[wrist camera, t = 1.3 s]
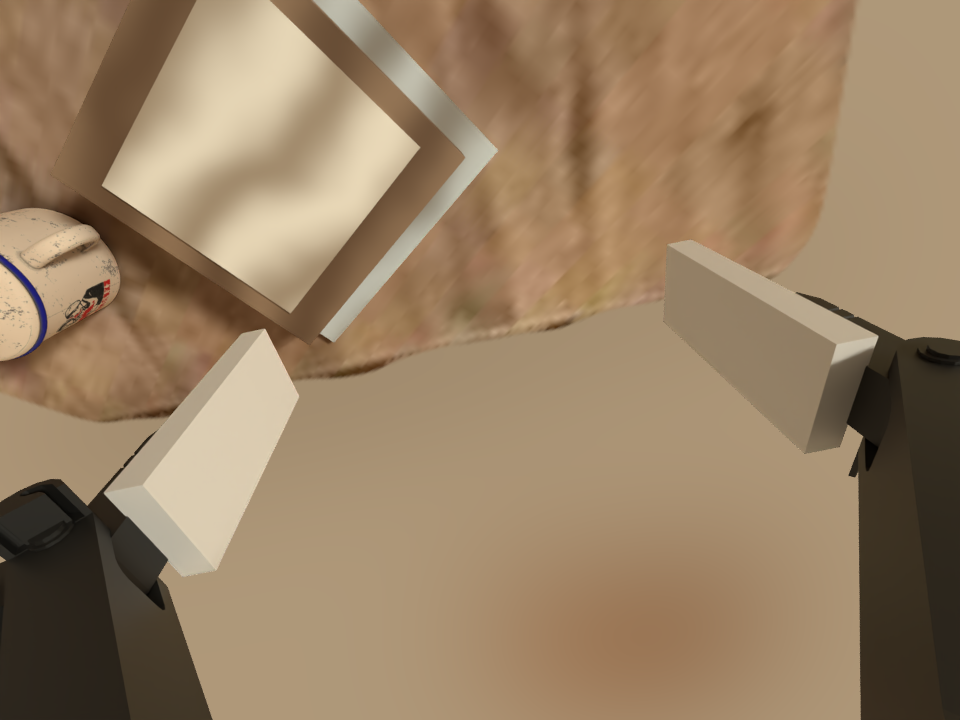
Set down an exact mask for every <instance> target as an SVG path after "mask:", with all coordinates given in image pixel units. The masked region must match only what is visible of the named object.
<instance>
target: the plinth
mask: <svg viewBox="0 0 960 720" xmlns="http://www.w3.org/2000/svg"><path fill="white" fill-rule="evenodd" d="M497 151H498V150H497V149H496V148H495V146H494V145H493V144H492V143H491V142H490V141H489V140H488V139H487V138H486V137H485V136H484V135H483V134H482V133H481V131H480V130H479V129H478V128H477V127H476V126H475V125H474V124H473V123H472V122H471V121H470V120H469V119H468V118H467V117H466V115H465V114H464V113H463V112H462V111H461V110H460V109H459V108H458V107H457V106H456V105H455V104H454V103H453V102H452V100H451V99H450V98H449V97H448V96H447V95H446V94H445V93H444V92H443V91H442V90H441V89H440V88H439V87H438V86H437V84H436V83H435V82H434V81H433V80H432V79H431V78H430V77H429V76H428V75H427V74H426V73H425V72H424V71H423V69H422V68H421V67H420V66H419V65H418V64H417V63H416V62H415V61H414V60H413V59H412V58H411V57H410V56H409V55H408V53H407V52H406V51H405V50H404V49H403V48H402V47H401V46H400V45H399V44H398V43H397V42H396V41H395V40H394V38H393V37H392V36H391V35H390V34H389V33H388V32H387V31H386V30H385V29H384V28H383V27H382V26H381V25H380V24H379V22H378V21H377V20H376V19H375V18H374V17H373V16H372V15H371V14H370V13H369V12H368V11H367V10H366V9H365V7H364V6H363V5H362V4H361V3H360V2H359V1H358V0H130V2H129V5H128V7H127V9H126V11H125V13H124V16H123V18H122V20H121V22H120V24H119V26H118V29H117V31H116V33H115V35H114V37H113V39H112V42H111V44H110V46H109V48H108V50H107V52H106V55H105V57H104V59H103V61H102V63H101V65H100V68H99V70H98V72H97V74H96V76H95V79H94V81H93V83H92V85H91V87H90V89H89V92H88V94H87V96H86V98H85V100H84V102H83V105H82V107H81V109H80V111H79V113H78V115H77V118H76V120H75V122H74V124H73V126H72V128H71V131H70V133H69V135H68V137H67V139H66V142H65V144H64V146H63V148H62V150H61V152H60V155H59V157H58V159H57V161H56V163H55V165H54V168H53V170H52V172H51V174H50V175H51V176H53V177H54V178H56V179H57V180H59V181H60V182H62V183H63V184H65V185H66V186H68V187H69V188H71V189H72V190H74V191H75V192H77V193H79V194H80V195H82V196H83V197H85V198H86V199H88V200H89V201H91V202H92V203H94V204H95V205H97V206H98V207H100V208H101V209H103V210H104V211H106V212H107V213H109V214H110V215H112V216H114V217H115V218H117V219H118V220H120V221H121V222H123V223H124V224H126V225H127V226H129V227H130V228H132V229H133V230H135V231H136V232H138V233H139V234H141V235H142V236H144V237H145V238H147V239H149V240H150V241H152V242H153V243H155V244H156V245H158V246H159V247H161V248H162V249H164V250H165V251H167V252H168V253H170V254H171V255H173V256H174V257H176V258H177V259H179V260H180V261H182V262H184V263H185V264H187V265H188V266H190V267H191V268H193V269H194V270H196V271H197V272H199V273H200V274H202V275H203V276H205V277H206V278H208V279H209V280H211V281H212V282H214V283H215V284H217V285H218V286H220V287H222V288H223V289H225V290H226V291H228V292H229V293H231V294H232V295H234V296H235V297H237V298H238V299H240V300H241V301H243V302H244V303H246V304H247V305H249V306H250V307H252V308H253V309H255V310H257V311H258V312H260V313H261V314H263V315H264V316H266V317H267V318H269V319H270V320H272V321H273V322H275V323H276V324H278V325H279V326H281V327H282V328H284V329H285V330H287V331H288V332H290V333H292V334H293V335H295V336H296V337H298V338H299V339H301V340H302V341H304V342H305V343H307V344H308V345H311V344H312V342H313V341H314V340H315V339H316V338H317V336H318V335H319V334H322V335H323V336H325V337H326V338H328V339H329V340H331V341H332V342H335V341H336V340H337V339H338V337H339V336H340V335H341V334H342V333H343V332H344V330H345V329H346V328H347V327H348V326H349V325H350V323H351V322H352V321H353V320H354V319H355V318H356V316H357V315H358V314H359V313H360V312H361V311H362V309H363V308H364V307H365V306H366V305H367V303H368V302H369V301H370V300H371V299H372V298H373V296H374V295H375V294H376V293H377V292H378V291H379V289H380V288H381V287H382V286H383V285H384V284H385V282H386V281H387V280H388V279H389V278H390V277H391V275H392V274H393V273H394V272H395V271H396V269H397V268H398V267H399V266H400V265H401V264H402V262H403V261H404V260H405V259H406V258H407V257H408V255H409V254H410V253H411V252H412V251H413V250H414V248H415V247H416V246H417V245H418V244H419V243H420V241H421V240H422V239H423V238H424V237H425V236H426V234H427V233H428V232H429V231H430V230H431V228H432V227H433V226H434V225H435V224H436V223H437V221H438V220H439V219H440V218H441V217H442V216H443V214H444V213H445V212H446V211H447V210H448V209H449V207H450V206H451V205H452V204H453V203H454V202H455V200H456V199H457V198H458V197H459V196H460V194H461V193H462V192H463V191H464V190H465V189H466V187H467V186H468V185H469V184H470V183H471V182H472V180H473V179H474V178H475V177H476V176H477V175H478V173H479V172H480V171H481V170H482V169H483V168H484V166H485V165H486V164H487V163H488V162H489V160H490V159H491V158H492V157H493V156H494V155H495V153H496V152H497Z"/></svg>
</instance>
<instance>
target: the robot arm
mask: <svg viewBox="0 0 960 720" xmlns="http://www.w3.org/2000/svg"><path fill="white" fill-rule="evenodd" d="M664 322H665V323H666V324H667V325H668V326H669V327H670V328H671V329H672V330H673V331H674V332H675V333H676V334H677V335H678V336H680V338H682V339H683V340H684V341H685V342H686V343H687V344H688V345H689V346H690V347H691V348H692V349H693V350H695V352H697V353H698V354H699V355H700V356H701V357H702V358H703V359H704V360H705V361H706V362H707V363H708V364H709V365H710V366H712V368H714V369H715V370H716V371H717V372H718V373H719V374H720V375H721V376H722V377H723V378H724V379H725V380H726V381H727V382H728V383H730V384H731V385H732V386H733V387H734V388H735V389H736V390H737V391H738V392H739V393H741V395H742V396H743V397H744V398H746V399H747V400H748V401H749V402H750V403H751V404H752V405H753V406H754V407H755V408H756V409H757V410H758V411H759V412H760V413H762V414H763V415H764V416H765V417H766V418H767V419H768V420H769V421H770V422H771V423H772V424H773V425H774V426H775V427H777V428H778V429H779V430H780V431H781V432H782V433H783V434H784V435H785V436H786V437H787V438H788V439H789V440H790V441H791V442H792V443H794V444H795V445H796V446H797V447H798V448H799V449H800V450H801V451H802V452H803V453H804V454H806V453H811V452H817V451H822V450H826V449H832V448H836V447H840V445H841V442H842V439H843V437H844V434H845V431H846V428H847V425H850V426H851V427H852V428H854V429H855V430H856V431H857V432H859V433H860V434H861V435H862V436H863V439H862V442H861V444H860V447H859V449H858V452H857V455H856V457H855V460H854V462H853V465H852V468H851V470H850V473H849V476H852V477H856V475H857V473H859V474H858V475H859V476H858V478H859V574H860V575H859V584H860V683H861V684H860V686H861V720H960V341H957V340H950V339H944V338H929V337H928V338H927V337H921V338H913V339H908V340H904V339H902V338H900V337H898V336H896V335H894V334H892V333H889V332H888V331H885V330H883V329H881V328H879V327H877V326H875V325H873V324H871V323H869V322H867V321H865V320H863V319H861V318H859V317H854V315H853V314H851V313H849V312H847V311H845V310H843V309H841V310H839V307H837V306H835V305H833V304H831V303H828V302H827V301H824V300H823V299H821V298H817V297H813V296H809V295H805V294H801V293H797V292H796V293H794V292H792V291H790V290H788V289H786V288H784V287H782V286H780V285H778V284H777V283H775V282H773V281H771V280H769V279H767V278H765V277H763V276H761V275H759V274H757V273H755V272H753V271H751V270H749V269H747V268H745V267H743V266H742V265H740V264H738V263H736V262H734V261H732V260H730V259H728V258H726V257H724V256H722V255H720V254H718V253H716V252H714V251H712V250H710V249H708V248H706V247H705V246H703V245H701V244H699V243H697V242H695V241H693V240H686V241H682V242H677V243H672V244H667V257H666V278H665V300H664ZM298 398H299V395H298V393H297V391H296V389H295V387H294V385H293V383H292V381H291V379H290V377H289V375H288V373H287V371H286V369H285V367H284V365H283V363H282V361H281V359H280V357H279V355H278V353H277V351H276V349H275V347H274V345H273V343H272V341H271V339H270V337H269V335H268V333H267V331H266V329H260V330H255V331H251V332H246V333H242V334H241V335H240V336H239V337H238V338H237V340H236V341H235V342H234V343H233V344H232V345H231V347H230V348H229V349H228V350H227V351H226V352H225V353H224V355H223V356H222V357H221V358H220V359H219V360H218V362H217V363H216V364H215V365H214V366H213V367H212V368H211V370H210V371H209V372H208V373H207V374H206V375H205V376H204V378H203V379H202V380H201V381H200V382H199V383H198V385H197V386H196V387H195V388H194V389H193V390H192V391H191V393H190V394H189V395H188V396H187V397H186V398H185V400H184V401H183V402H182V403H181V404H180V405H179V406H178V408H177V409H176V410H175V411H174V412H173V413H172V414H171V416H170V417H169V418H168V419H167V420H166V422H165V423H164V424H163V425H162V426H161V427H160V428H159V429H158V430H157V431H156V432H154V433H153V434H152V435H150V436H149V437H148V438H147V439H146V440H145V441H144V442H143V443H142V445H141V446H140V447H139V448H138V449H137V450H136V451H135V455H133V456H131V457H130V458H129V459H128V461H127V462H126V463H125V464H124V468H120V470H119V471H118V472H117V473H116V474H115V475H114V476H113V478H112V479H111V480H110V481H109V482H108V483H107V484H106V485H105V487H104V488H103V489H102V490H101V491H100V492H99V493H98V494H97V496H96V497H95V498H94V499H93V500H92V501H91V502H90V504H89V505H88V506H87V505H86V504H85V503H83V501H82V500H80V499H79V497H78V496H77V495H75V493H73V492H72V490H71V489H70V488H69V487H68V486H67V485H66V484H65V483H64V482H62V481H61V479H50V480H46V481H43V482H39V483H36V484H33V485H31V486H29V487H27V488H24V489H22V490H20V491H18V492H16V493H15V494H13V495H11V496H10V497H8V498H6V499H4V500H3V501H1V502H0V556H1V557H2V558H4V559H5V560H6V561H5V562H2V563H0V720H212V717H211V714H210V711H209V708H208V705H207V702H206V699H205V697H204V693H203V690H202V688H201V684H200V682H199V679H198V676H197V673H196V670H195V667H194V664H193V661H192V658H191V655H190V652H189V649H188V646H187V643H186V640H185V637H184V634H183V631H182V628H181V626H180V622H179V620H178V617H177V614H176V611H175V608H174V605H173V602H172V599H171V596H170V593H169V590H168V587H167V586H166V585H165V584H164V583H163V581H161V579H159V577H158V576H159V574H160V572H161V571H162V569H163V568H164V566H165V564H166V563H167V561H168V562H169V563H170V564H171V565H172V566H173V567H174V568H175V569H176V570H177V571H178V572H179V573H180V574H181V576H182V577H185V576H190V575H195V574H200V573H205V572H210V571H215V570H216V569H217V567H218V565H219V563H220V561H221V559H222V557H223V555H224V553H225V551H226V549H227V546H228V544H229V542H230V540H231V538H232V536H233V534H234V532H235V530H236V528H237V526H238V523H239V521H240V519H241V517H242V515H243V513H244V511H245V509H246V507H247V505H248V503H249V500H250V498H251V496H252V494H253V492H254V490H255V488H256V486H257V484H258V482H259V480H260V477H261V475H262V473H263V471H264V469H265V467H266V465H267V463H268V461H269V459H270V457H271V455H272V452H273V450H274V448H275V446H276V444H277V442H278V440H279V438H280V436H281V434H282V432H283V429H284V427H285V425H286V423H287V421H288V419H289V417H290V414H291V413H292V411H293V409H294V406H295V404H296V402H297V400H298Z"/></svg>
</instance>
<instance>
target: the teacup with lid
mask: <svg viewBox="0 0 960 720" xmlns="http://www.w3.org/2000/svg"><path fill="white" fill-rule="evenodd" d="M119 287H120V272H119V268H118V265H117V262H116V260H115V258H114V256H113V254H112V253H111V251H110V250H109V248H108V247H107V245H106V244H105V243H104V242H103V241H102V240H101V239H100V235H99V234H98V232H97V231H96V230H95V229H94V228H93V227H91V226H89V225H85V224H82V223H80V222H79V221H77V220H75V219H73V218H71V217H69V216H67V215H65V214H62V213H59V212H56V211H52V210H48V209H41V208H26V209H20V210H15V211H10V212H6V213H1V214H0V361H5V360H11V359H16V358H20V357H22V356H25V355H27V354H29V353H31V352H32V351H34V350H35V349H36V348H37V347H38V346H39V345H40V344H41V343H42V342H43V341H44V340H46V339H48V338H50V337H52V336H53V335H55V334H57V333H59V332H61V331H62V330H64V329H66V328H68V327H70V326H71V325H73V324H75V323H77V322H79V321H80V320H82V319H84V318H86V317H88V316H89V315H91V314H93V313H95V312H97V311H98V310H100V309H102V308H104V307H106V306H107V305H108V304H110V303H111V302H112V301H113V299H114V298H115V297H116V295H117V293H118V290H119Z"/></svg>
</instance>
